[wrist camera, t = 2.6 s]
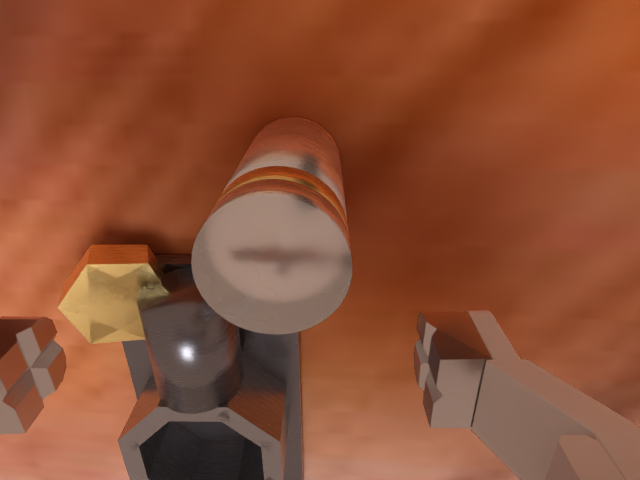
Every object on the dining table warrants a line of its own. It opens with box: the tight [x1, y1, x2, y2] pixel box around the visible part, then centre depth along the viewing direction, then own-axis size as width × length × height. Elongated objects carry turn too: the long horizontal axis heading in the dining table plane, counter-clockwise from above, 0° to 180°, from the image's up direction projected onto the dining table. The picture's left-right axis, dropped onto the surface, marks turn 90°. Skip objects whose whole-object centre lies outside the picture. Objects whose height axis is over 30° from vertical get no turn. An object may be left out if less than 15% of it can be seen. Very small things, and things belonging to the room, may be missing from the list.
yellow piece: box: [58, 245, 164, 344], centre depth 22 cm, size 4×5×2 cm
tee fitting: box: [118, 254, 304, 480], centre depth 25 cm, size 10×20×5 cm, turn 0°
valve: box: [191, 117, 352, 335], centre depth 16 cm, size 4×4×10 cm
